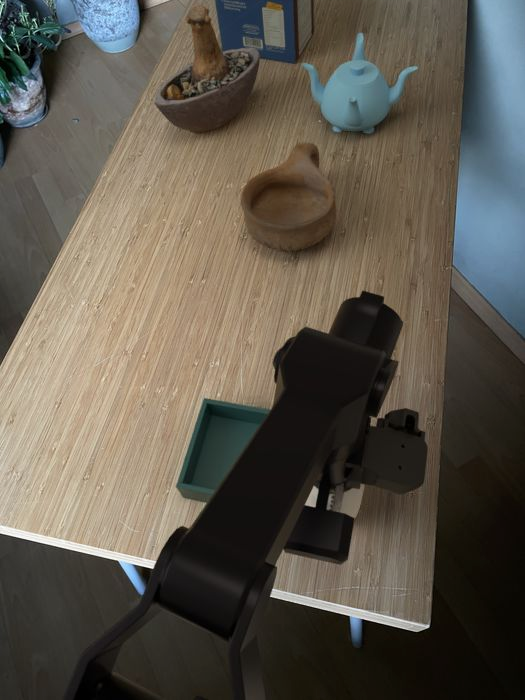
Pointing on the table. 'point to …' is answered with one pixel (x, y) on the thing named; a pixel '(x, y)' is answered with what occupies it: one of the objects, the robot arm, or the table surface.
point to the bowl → (290, 202)
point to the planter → (208, 80)
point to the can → (349, 501)
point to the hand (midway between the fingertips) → (330, 483)
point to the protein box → (266, 26)
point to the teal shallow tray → (216, 446)
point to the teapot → (356, 93)
